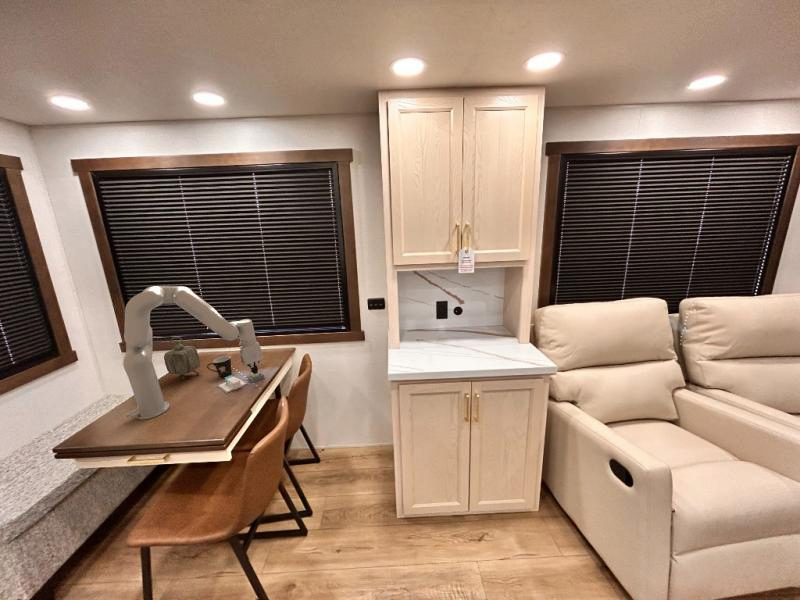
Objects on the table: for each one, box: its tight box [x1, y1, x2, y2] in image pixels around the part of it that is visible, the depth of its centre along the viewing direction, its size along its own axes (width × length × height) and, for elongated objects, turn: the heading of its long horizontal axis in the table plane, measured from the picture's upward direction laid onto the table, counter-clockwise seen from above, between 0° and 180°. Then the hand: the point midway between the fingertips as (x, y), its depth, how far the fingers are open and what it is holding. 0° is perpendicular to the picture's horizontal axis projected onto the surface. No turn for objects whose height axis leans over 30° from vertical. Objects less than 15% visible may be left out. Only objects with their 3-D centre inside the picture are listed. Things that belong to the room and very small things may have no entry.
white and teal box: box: [224, 374, 242, 391], centre depth 162 cm, size 4×11×4 cm, turn 50°
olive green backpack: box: [163, 336, 201, 380], centre depth 174 cm, size 14×9×25 cm, turn 84°
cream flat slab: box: [216, 377, 249, 395], centre depth 163 cm, size 11×13×1 cm
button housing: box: [246, 371, 265, 383], centre depth 169 cm, size 6×6×2 cm
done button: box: [250, 370, 260, 378], centre depth 169 cm, size 4×4×3 cm
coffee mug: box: [206, 355, 233, 379], centre depth 175 cm, size 12×9×10 cm
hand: (255, 372), depth 168 cm, fingers closed
